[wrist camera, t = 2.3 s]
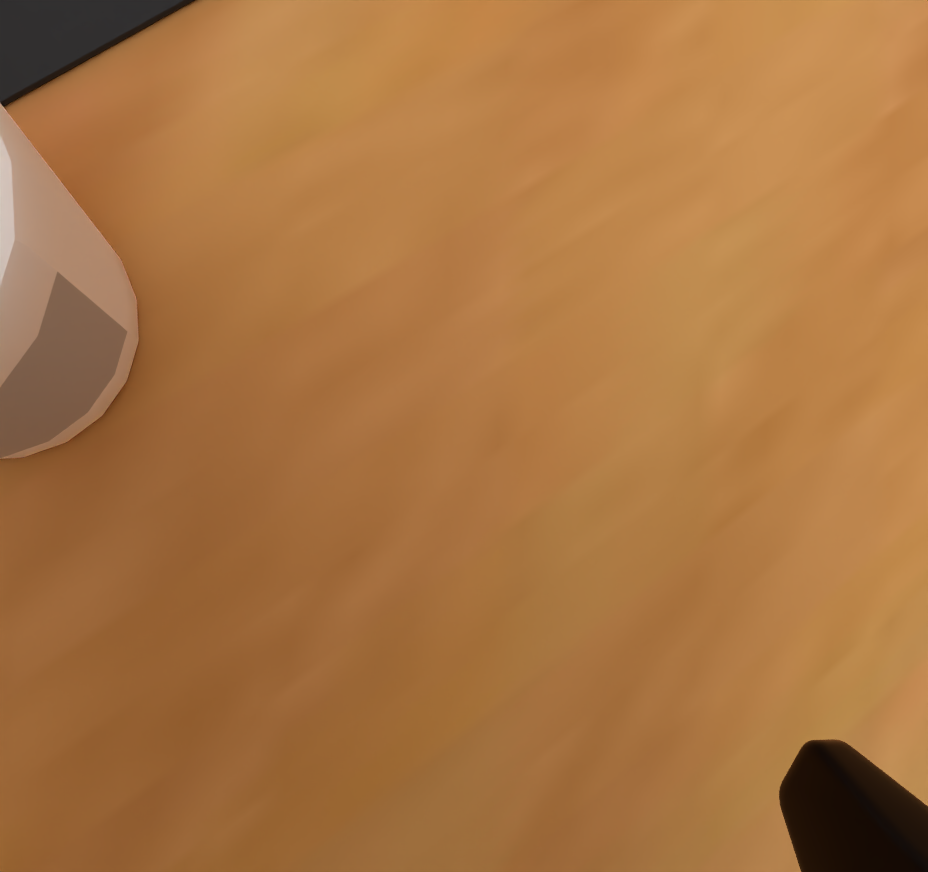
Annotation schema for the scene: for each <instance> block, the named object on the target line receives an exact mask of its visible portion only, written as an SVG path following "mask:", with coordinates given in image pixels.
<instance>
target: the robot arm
mask: <svg viewBox="0 0 928 872" xmlns="http://www.w3.org/2000/svg"><path fill="white" fill-rule="evenodd" d="M779 800H780V806H781V810H782V813H783V816H784V819H785V823H786V826H787V829H788V832H789V835H790V838H791V841H792V844H793V848H794V851H795V854H796V857H797V860H798V863H799V866H800V869H801V872H928V806H927V805H925V804H924V803H923V802H922V801H920V800H919V799H918V798H916V797H915V796H914V795H913V794H911V793H910V792H909V791H907V790H906V789H905V788H904V787H902V786H901V785H900V784H899V783H897V782H896V781H895V780H893V779H892V778H891V777H890V776H888V775H887V774H886V773H884V772H883V771H882V770H881V769H879V768H878V767H877V766H875V765H874V764H873V763H872V762H870V761H869V760H868V759H867V758H865V757H864V756H863V755H861V754H860V753H859V752H858V751H856V750H855V749H854V748H852V747H851V746H850V745H848V744H847V743H845V742H843V741H840V740H811V741H809V742H807V743H805V744H804V745H803V746H802V748H801V749H800V751H799V753H798V755H797V756H796V758H795V760H794V762H793V764H792V765H791V767H790V769H789V771H788V772H787V774H786V776H785V778H784V779H783V781H782V783H781V786H780V791H779Z"/></svg>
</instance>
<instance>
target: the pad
mask: <svg viewBox="0 0 928 872" xmlns="http://www.w3.org/2000/svg"><path fill="white" fill-rule="evenodd" d="M192 1H194V0H0V103H1V104H2V106H5V105H7V104H8V103H10V102H12V101H14V100H16V99H17V98H19V97H21V96H23V95H25V94H26V93H28V92H30V91H32V90H34V89H35V88H37V87H39V86H41V85H43V84H44V83H46V82H48V81H50V80H52V79H53V78H55V77H57V76H59V75H61V74H62V73H64V72H66V71H68V70H70V69H71V68H73V67H75V66H77V65H79V64H80V63H82V62H84V61H86V60H88V59H89V58H91V57H93V56H95V55H97V54H99V53H100V52H102V51H104V50H106V49H108V48H109V47H111V46H113V45H115V44H117V43H118V42H120V41H122V40H124V39H126V38H127V37H129V36H131V35H133V34H135V33H136V32H138V31H140V30H142V29H144V28H145V27H147V26H149V25H151V24H153V23H154V22H156V21H158V20H160V19H162V18H163V17H165V16H167V15H169V14H171V13H172V12H174V11H176V10H178V9H180V8H181V7H183V6H185V5H187V4H189V3H191V2H192Z"/></svg>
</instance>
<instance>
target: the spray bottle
mask: <svg viewBox="0 0 928 872" xmlns="http://www.w3.org/2000/svg"><path fill="white" fill-rule="evenodd" d="M138 342H139V335H138V314H137V298H136V296H135V293H134V291H133V288H132V286H131V283H130V281H129V278H128V276H127V273H126V270H125V268H124V265H123V263H122V260H121V259H120V257H119V256H118V255H117V254H116V252H115V251H114V250H113V248H112V247H111V246H110V244H109V243H108V242H107V241H106V239H105V238H104V237H103V235H102V234H101V233H100V232H99V230H98V229H97V228H96V226H95V225H94V224H93V222H92V221H91V220H90V219H89V217H88V216H87V215H86V213H85V212H84V211H83V209H82V208H81V207H80V206H79V204H78V203H77V202H76V200H75V199H74V198H73V197H72V195H71V194H70V193H69V191H68V190H67V189H66V187H65V186H64V185H63V184H62V182H61V181H60V180H59V178H58V177H57V176H56V174H55V173H54V172H53V171H52V169H51V168H50V167H49V165H48V164H47V163H46V162H45V160H44V159H43V158H42V156H41V155H40V154H39V152H38V151H37V150H36V149H35V147H34V146H33V145H32V143H31V142H30V141H29V139H28V138H27V137H26V136H25V134H24V133H23V132H22V130H21V129H20V128H19V127H18V125H17V124H16V123H15V121H14V120H13V119H12V117H11V116H10V115H9V114H8V112H7V111H6V110H5V108H4V107H3V106H2V104H1V103H0V459H4V458H23V457H26V456H29V455H32V454H35V453H38V452H41V451H43V450H46V449H49V448H52V447H55V446H58V445H60V444H63V443H66V442H68V441H69V440H70V439H72V438H73V437H74V436H76V435H77V434H78V433H80V432H81V431H83V430H84V429H85V428H87V427H88V426H89V425H91V424H92V423H93V422H95V421H96V420H97V419H99V418H100V417H101V416H102V415H103V414H104V413H105V411H106V410H107V408H108V407H109V406H110V404H111V403H112V401H113V400H114V399H115V397H116V396H117V394H118V393H119V391H120V390H121V389H122V387H123V386H124V384H125V383H126V382H127V379H128V376H129V372H130V369H131V366H132V362H133V359H134V355H135V352H136V349H137V345H138Z"/></svg>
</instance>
